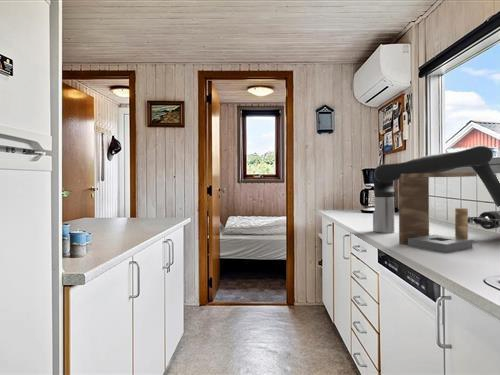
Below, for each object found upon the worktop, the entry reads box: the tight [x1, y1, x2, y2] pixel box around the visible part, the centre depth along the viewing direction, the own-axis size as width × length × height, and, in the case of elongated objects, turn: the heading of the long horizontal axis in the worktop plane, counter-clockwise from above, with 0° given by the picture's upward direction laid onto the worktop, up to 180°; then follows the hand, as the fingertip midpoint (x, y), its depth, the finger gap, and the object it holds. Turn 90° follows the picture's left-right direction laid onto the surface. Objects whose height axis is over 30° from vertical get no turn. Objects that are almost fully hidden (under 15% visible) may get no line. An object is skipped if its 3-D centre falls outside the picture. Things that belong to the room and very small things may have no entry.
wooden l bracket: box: [398, 171, 478, 245], centre depth 148 cm, size 22×16×28 cm
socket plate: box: [407, 234, 474, 253], centre depth 146 cm, size 16×16×3 cm
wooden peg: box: [454, 207, 469, 240], centre depth 152 cm, size 4×4×14 cm
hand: (470, 222), depth 156 cm, fingers open, 8 cm apart
